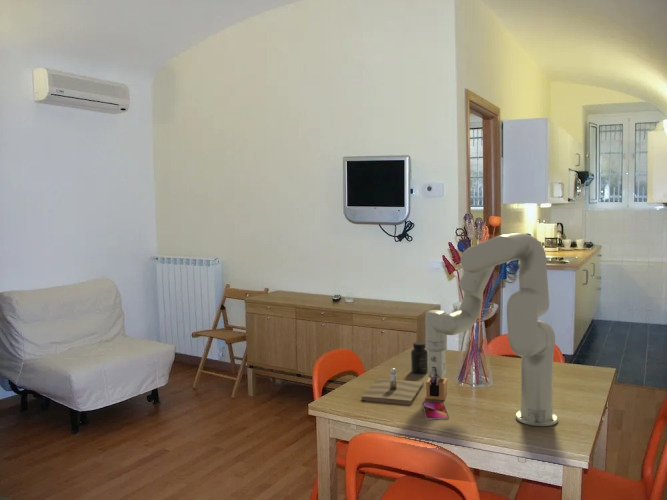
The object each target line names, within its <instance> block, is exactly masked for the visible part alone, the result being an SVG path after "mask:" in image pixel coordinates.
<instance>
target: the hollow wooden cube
mask: <svg viewBox="0 0 667 500" xmlns="http://www.w3.org/2000/svg"><path fill="white" fill-rule="evenodd" d="M436 381H437V379H436ZM425 384H426V385H425V386H426V389H425V390H426V393H425V394H426V395H425V396H426V397H425V398H426V399H427V400H437V401H438V400H439V401H445V400H446V398H447V396H448V378H447V377H443V378H442V379H441V378H439V381H438V385H439V396H438V397H437V396H430V377H429V376H428V379H427V380H426V382H425Z"/></svg>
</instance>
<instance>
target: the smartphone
mask: <svg viewBox="0 0 667 500" xmlns="http://www.w3.org/2000/svg"><path fill="white" fill-rule="evenodd" d="M422 409H423V411H424V416H425V419H426V420H430V421H432V420H435V421H437V420H441V421H442V420H445V421H446V420H450V416H449V413H448V411H447V408H446V404H445V402H442V401H423V402H422Z"/></svg>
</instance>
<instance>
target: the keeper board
mask: <svg viewBox="0 0 667 500" xmlns="http://www.w3.org/2000/svg"><path fill="white" fill-rule="evenodd" d="M423 387H424V382H423V381H413V380H403V379H402V380H401V379H397V389H396V390H391V389H390V378H389V379H388V378H376V380H375V381H374V382H373V383H372V384H371V385H370V387H368V389H367V390H365V392H364V393H363V394H362V395H361V398H360V399H361V401H362V400H366V401H365V402H373V401H375V403H383V404H384V403H388V404H395V403H396V404H397V405H407V406H408V405H409V406H412V405H413V403H414V402H415V400H416V398H417V397H418V395H419V394H420V392H421V390H422V389H423ZM396 404H395V405H396Z"/></svg>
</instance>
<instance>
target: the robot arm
mask: <svg viewBox="0 0 667 500" xmlns="http://www.w3.org/2000/svg"><path fill="white" fill-rule="evenodd" d="M546 255H547V254H546V251H545V248H544V246H543V245H542V243H541V242H540V240H539V239H537V238H535V237H534V236H532V235H530V234H528V233H524V232H515V233H514V232H513V233H507V234H500V235H497V236H495V237H492V238H490V239H487V240H485V241H482V242H479V243H477V244H475V245H472V246H470V247H468V248H466V249H465V250H464V251H463V252H462V254H461V256H460V264H461V267H462V269H463V273H462V275H461V278H460V280H459V282H458V287H459V288H460V289H461V290H462V291H463V293H464V296H463V299H462V302H461V304H460V306H459V308H458V310H455V311H452V312H449V313H448V312H446V311H445V310H441V309H430V310H427V311H426V312H425V315H424V316H425V317H424V320H425V321H424V322H425V327H424V329H425V349H426V350H427V351H428V378H429V377H430V396H437V397H438V396H439V385H438V381H439V378H441V379H442V378H445V375H446V373H447V362H446V360H447V359H446V351H447V350H448V336H456V335H458V334H461V333H462V332H463V333H464V332H467V331H470V329H471V328H473V326H474V324H475V323H476V321H477V319H478V317H479V315H480V313H481V310H482V307H483V302H484V301H483V299H484V297H483V295H484V291H485V289H486V286H487V284H488V282H489V280H490V278H491V276H492V274H493V272H494V270H495V267H496V266H497V267H498V265H502V264H505V263H508V262H514V261H519V269H518V285H519V286H518V287H519V288H518V290H517V291H515V292H513V293H512V294H511V295H510V296H509V299H508V300H507V302H506V303H507V304H506V322H507V323H506V324H507V339H508V344H509V346H510V347H509V348H510V349H511V350H512V352H513V353H514V354H515V355H516V356H519V357H521V358H520V359H521V361H520V410H518V411H517V412H516V414H515V419H516V420H517V421H518V422H520V423H522V424H525V425H528V426H532V427H550V426H553V425H555V424H557V423H558V420H559V419H558V418H559V417H558V416H557V415H556V414H555V413H553V390H554V389H553V387H554V386H553V381H554V380H553V373H554V371H553V369H554V367H553V365H554V364H553V363H554V352H555V345H556V335H555V331H554V329H553V328H552V326H551V325H550V324H549V323H548V322H546V321H543V320H539V319H538V318H540V317H542V316H543V315H545V314H547V312H548V311H549V308H550V295H549V282H548V281H549V280H548V270H547V269H548V268H547V266H548V265H547V256H546ZM436 379H437V381H436Z"/></svg>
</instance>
